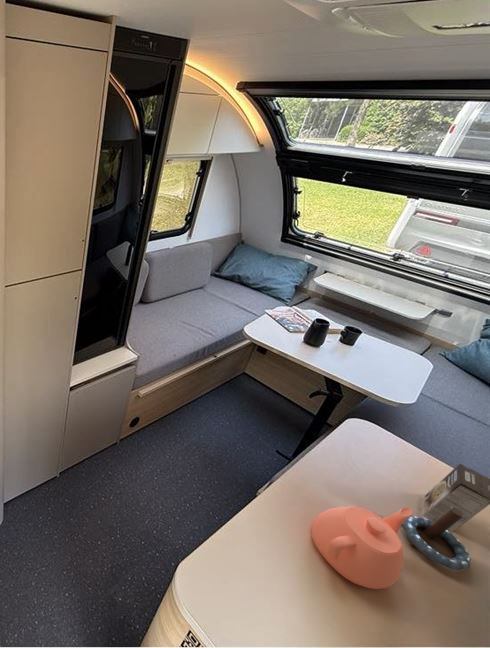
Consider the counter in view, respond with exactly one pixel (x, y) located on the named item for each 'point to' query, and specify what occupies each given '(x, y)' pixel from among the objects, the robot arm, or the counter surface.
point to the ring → (457, 563)
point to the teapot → (361, 544)
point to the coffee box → (458, 495)
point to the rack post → (440, 532)
